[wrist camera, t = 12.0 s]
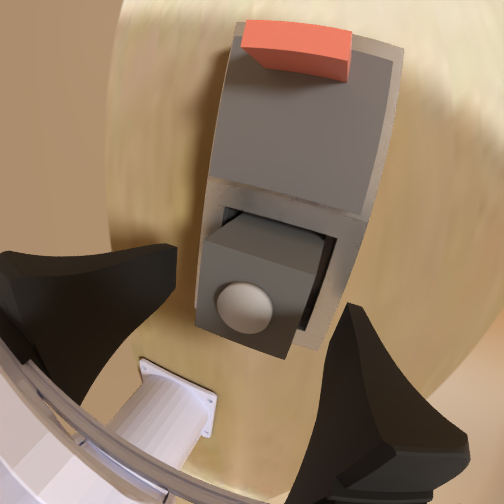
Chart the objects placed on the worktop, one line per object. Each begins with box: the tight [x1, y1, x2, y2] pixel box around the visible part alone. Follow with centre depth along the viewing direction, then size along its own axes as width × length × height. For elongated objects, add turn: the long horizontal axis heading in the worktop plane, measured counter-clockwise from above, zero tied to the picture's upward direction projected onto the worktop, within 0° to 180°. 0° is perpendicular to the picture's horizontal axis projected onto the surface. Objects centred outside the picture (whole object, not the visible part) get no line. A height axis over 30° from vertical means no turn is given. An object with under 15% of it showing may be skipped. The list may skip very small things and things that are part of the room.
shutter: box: [209, 20, 393, 215], centre depth 8 cm, size 6×6×3 cm
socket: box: [194, 22, 404, 351], centre depth 12 cm, size 14×7×2 cm, turn 170°
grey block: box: [195, 212, 326, 360], centre depth 12 cm, size 4×4×5 cm
